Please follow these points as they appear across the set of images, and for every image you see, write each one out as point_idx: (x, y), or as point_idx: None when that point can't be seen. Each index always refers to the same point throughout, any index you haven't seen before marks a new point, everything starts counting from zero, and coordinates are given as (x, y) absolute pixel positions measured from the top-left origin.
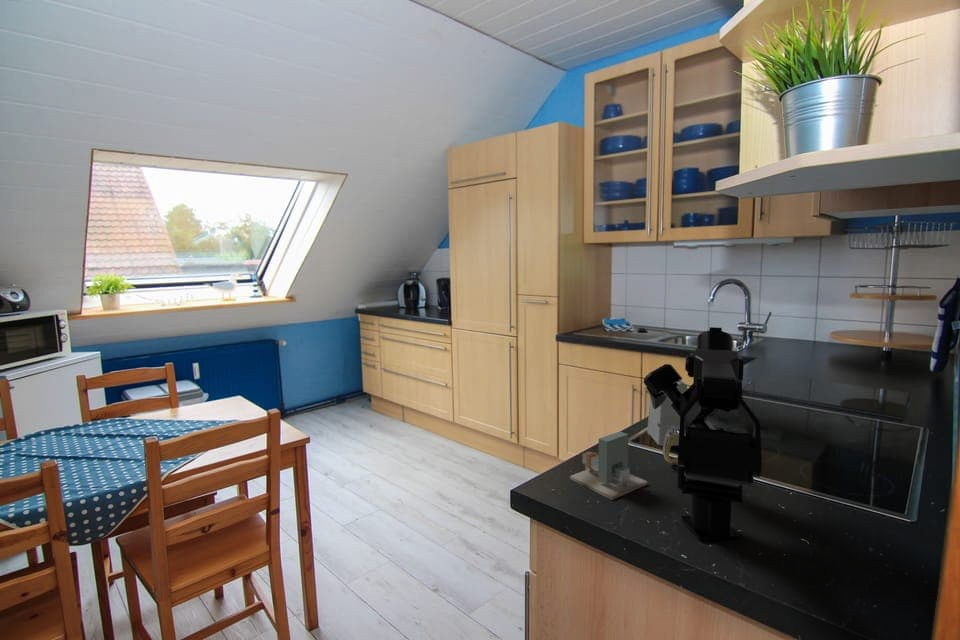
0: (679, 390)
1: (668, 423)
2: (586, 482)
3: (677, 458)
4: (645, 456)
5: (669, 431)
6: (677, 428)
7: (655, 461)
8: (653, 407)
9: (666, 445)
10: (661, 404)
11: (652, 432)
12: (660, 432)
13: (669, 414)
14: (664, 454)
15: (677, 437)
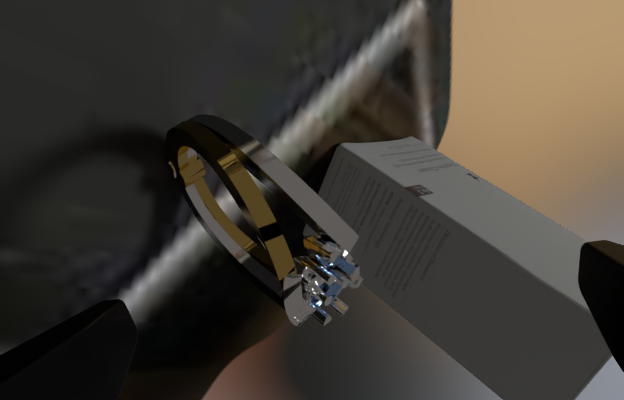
0: (535, 382)
1: (405, 234)
2: None
3: (201, 188)
4: (292, 37)
5: (338, 237)
6: (330, 301)
7: (232, 65)
8: (617, 245)
9: (251, 166)
10: (608, 344)
11: (403, 151)
12: (384, 179)
13: (442, 263)
14: (209, 122)
15: None
